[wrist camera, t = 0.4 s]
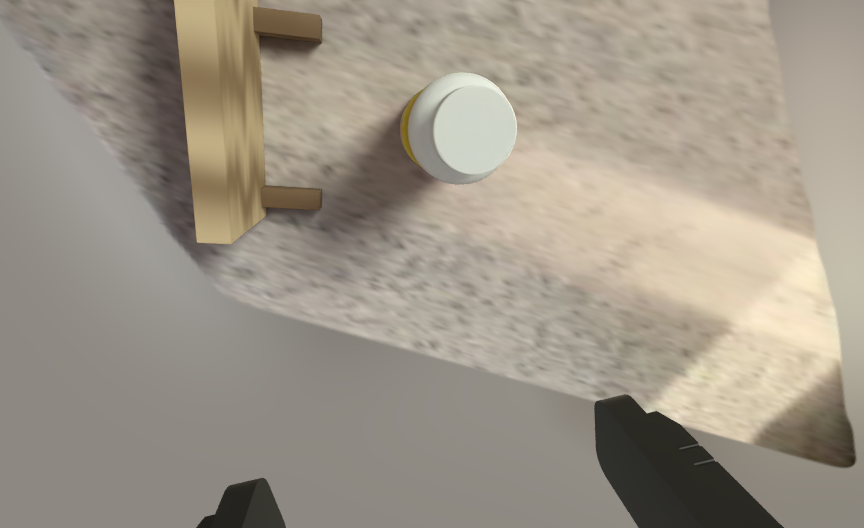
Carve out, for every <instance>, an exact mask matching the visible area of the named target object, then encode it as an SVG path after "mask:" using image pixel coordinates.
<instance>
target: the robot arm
mask: <svg viewBox="0 0 864 528" xmlns="http://www.w3.org/2000/svg"><path fill="white" fill-rule="evenodd" d="M594 409H595V434H596V435H595V437H596V452H597V457H598V460H599V463H600V466H601V468H602V470H603V472H604V474H605V476H606V478H607V479H608V481H609V482H610V484H611V485H612V487H613V489H614V490H615V492H616V493H617V495H618V496H619V498H620V499H621V501H622V502H623V504H624V506H625V507H626V509H627V510H628V512H629V513H630V515H631V516H632V518H633V519H634V521H635V523H636V524H637V526H638V527H639V528H784V527H783V526H782V525H780V524H779V523H778V522H777V521H776V520H775V519H774V518H773V517H772V516H771V515H770V514H769V513H768V512H767V511H766V510H765V509H764V508H763V507H762V506H761V505H760V504H759V503H758V502H757V501H756V500H755V499H754V498H753V497H752V496H751V495H750V494H749V493H748V492H747V491H746V490H745V489H744V488H743V487H742V486H741V485H740V484H739V483H738V482H737V481H736V480H735V479H734V478H733V477H732V476H731V475H730V474H729V473H728V472H727V471H726V470H725V469H724V468H723V467H722V466H721V465H720V464H719V463H718V462H715V461H714V459H713V457H712V456H711V455H710V454H709V453H708V452H707V451H706V450H705V449H704V448H703V447H702V446H699V444H698V442H697V441H696V440H695V439H694V438H693V437H692V436H691V435H690V434H689V433H688V432H687V431H686V430H685V429H684V428H683V427H682V426H681V425H680V424H678V423H677V422H675V421H673V420H671V419H670V418H668V417H666V416H664V415H662V414H661V413H659V412H657V411H655V412H651V413H646V412H645V411H644V410H643V409H642V408H641V407H640V406H639V405H638V404H637V402H636V401H635V400H634V399H633V398H632V397H631V396H629V395H626V394H625V395H621V396H617V397H612V398H608V399H604V400H599V401H596V403H595V408H594ZM196 528H286V526H285V523H284V520H283V518H282V515H281V513H280V510H279V508H278V506H277V503H276V501H275V498H274V496H273V494H272V491H271V489H270V486H269V484H268V482H267V480H266V479H264V478H260V479H255V480H251V481H247V482H242V483H238V484H234V485H230V486H228V487H227V489H226V490H225V492H224V495H223V497H222V499H221V502H220V504H219V506H218V509H217V511H216V514H215V515H211V516H207V517H205V518H204V519H203V520H202V521H201V522H200V524H199V525H198V526H197V527H196Z"/></svg>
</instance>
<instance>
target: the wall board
mask: <svg viewBox="0 0 864 528" xmlns="http://www.w3.org/2000/svg"><path fill="white" fill-rule="evenodd" d="M174 6H175V17H176V27H177V38H178V48H179V59H180V70H181V80H182V91H183V101H184V112H185V122H186V133H187V143H188V154H189V164H190V175H191V185H192V196H193V206H194V217H195V228H196V238H197V243H215V244H232V243H233V242H234V241H235V240H237V239H238V238H239V237H240V236H242V235H243V234H244V233H245V232H247V231H248V230H249V229H250V228H252V227H253V226H254V225H255V224H257V223H258V222H259V221H260V220H262V219H263V218H264V217H265V216H267V212H266V207H272V208H290V209H307V210H320V209H321V207H322V189H313V188H297V187H282V186H266V185H265V162H264V137H263V112H262V88H261V63H260V38H259V35H260V36H269V37H277V38H286V39H294V40H303V41H312V42H320V43H322V19H321V17H320V15H315V14H307V13H299V12H291V11H283V10H276V9H268V8H260V7H258V0H174Z"/></svg>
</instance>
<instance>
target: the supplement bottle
mask: <svg viewBox="0 0 864 528" xmlns="http://www.w3.org/2000/svg"><path fill="white" fill-rule="evenodd" d="M516 134H517V122H516V117H515V114H514V111H513V108H512V107H511V105H510V103H509V102H508V100H507V99H506V97H505V95H504V94H503V93H502V91H501V90H500V89H499V88H498V87H497V86H496V85H495V84H494V83H492V82H491V81H489V80H488V79H486V78H484V77H482V76H479V75H476V74H473V73H453V74H448V75H445V76H443V77H440V78H438V79H437V80H435V81H433V82H432V83H431V84H429V85H428V86H427V87H425V88H424V89H423V90H421V91H420V92H418V93H417V94H416V95H415V96H414V97H413V98H412V99H411V100H410V101H409V103H408V104H407V105H406V107H405V109H404V111H403V114H402V117H401V122H400V137H401V141H402V144H403V147H404V149H405V151H406V153H407V154H408V156H409V157H410V158H411V159H412V160H413V161H414V162H415V163H416V164H417V165H419V166H420V167H421V168H422V169H424V170H425V171H426V172H427V173H429V174H430V175H431V176H433V177H435V178H436V179H438V180H440V181H443V182H446V183H450V184H470V183H474V182H477V181H480V180H482V179H484V178H486V177H488V176H489V175H490V174H492V173H493V172H494V171H495V170H496V169H497V168H498V167H499V166H500V165H501V164H502V163H503V162H504V161H505V160H506V159H507V157H508V156H509V154H510V152H511V151H512V149H513V147H514V143H515V140H516Z"/></svg>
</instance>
